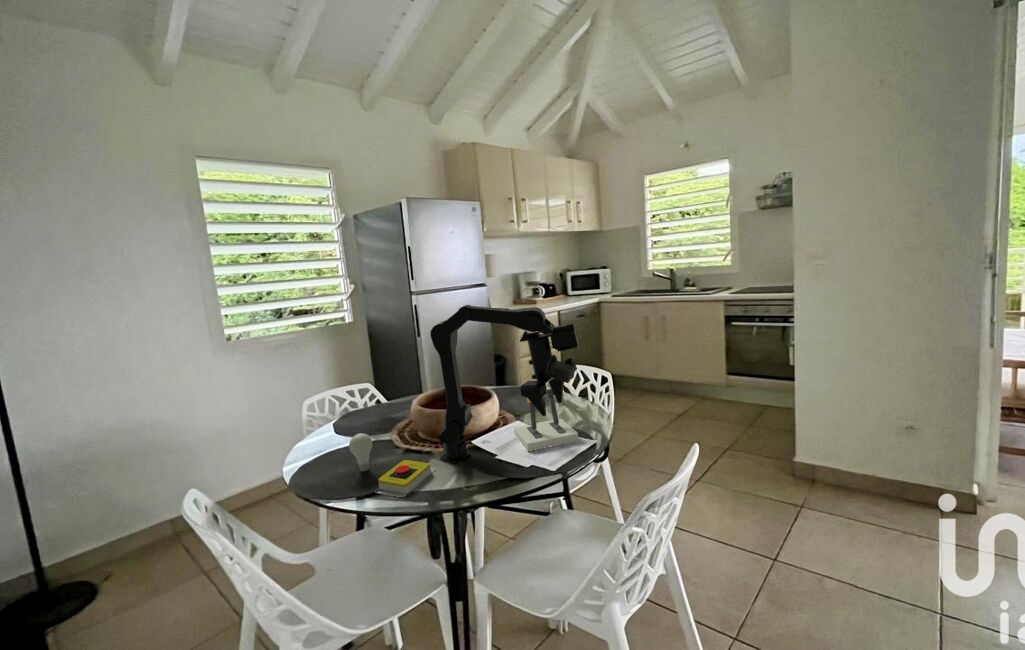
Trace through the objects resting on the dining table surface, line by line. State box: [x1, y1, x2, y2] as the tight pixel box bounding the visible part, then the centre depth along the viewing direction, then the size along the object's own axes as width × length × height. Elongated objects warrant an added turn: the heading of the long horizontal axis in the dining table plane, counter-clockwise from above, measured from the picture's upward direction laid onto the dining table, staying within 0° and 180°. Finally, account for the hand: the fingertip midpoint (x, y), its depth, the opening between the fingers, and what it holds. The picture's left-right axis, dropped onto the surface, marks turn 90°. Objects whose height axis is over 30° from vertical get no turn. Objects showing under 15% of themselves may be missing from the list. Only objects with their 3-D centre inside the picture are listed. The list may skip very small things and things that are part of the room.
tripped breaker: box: [526, 398, 537, 430], centre depth 131 cm, size 2×2×11 cm
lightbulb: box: [348, 432, 373, 472], centre depth 121 cm, size 6×6×11 cm
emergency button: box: [375, 459, 436, 498], centre depth 115 cm, size 9×4×15 cm
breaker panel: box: [513, 388, 580, 452], centre depth 132 cm, size 16×13×14 cm
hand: (552, 409), depth 119 cm, fingers open, 9 cm apart
